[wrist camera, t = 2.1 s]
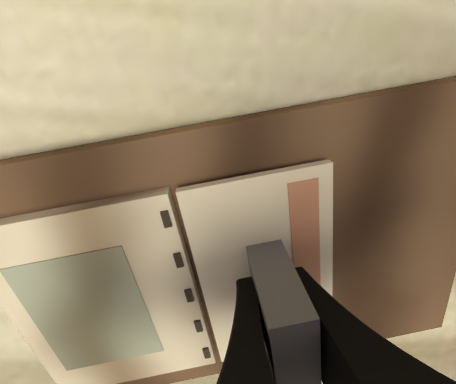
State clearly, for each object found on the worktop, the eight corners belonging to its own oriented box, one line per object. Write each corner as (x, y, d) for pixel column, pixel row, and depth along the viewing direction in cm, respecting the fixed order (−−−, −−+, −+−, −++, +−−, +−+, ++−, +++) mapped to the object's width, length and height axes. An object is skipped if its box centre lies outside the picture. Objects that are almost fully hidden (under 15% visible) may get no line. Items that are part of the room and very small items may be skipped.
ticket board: (481, 71, 11) (530, 71, 9) (428, 313, 17) (453, 339, 15) (-63, 172, 10) (-112, 190, 9) (79, 385, 16) (65, 420, 15)
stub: (328, 159, 10) (408, 213, 6) (328, 332, 15) (377, 429, 11) (176, 188, 10) (162, 262, 6) (220, 354, 14) (229, 462, 11)
